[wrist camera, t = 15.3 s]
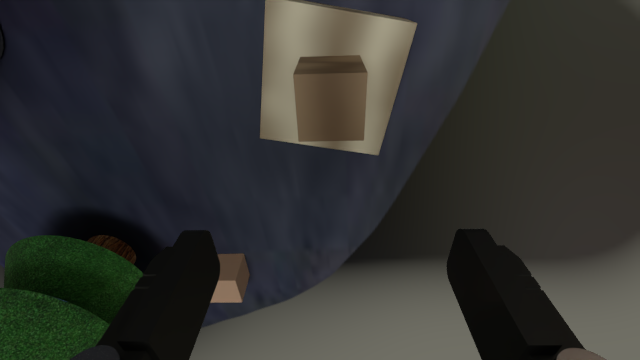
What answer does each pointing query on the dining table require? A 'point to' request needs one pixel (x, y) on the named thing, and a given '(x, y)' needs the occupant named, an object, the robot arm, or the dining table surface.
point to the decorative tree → (62, 294)
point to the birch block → (330, 40)
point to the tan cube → (231, 278)
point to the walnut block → (330, 98)
